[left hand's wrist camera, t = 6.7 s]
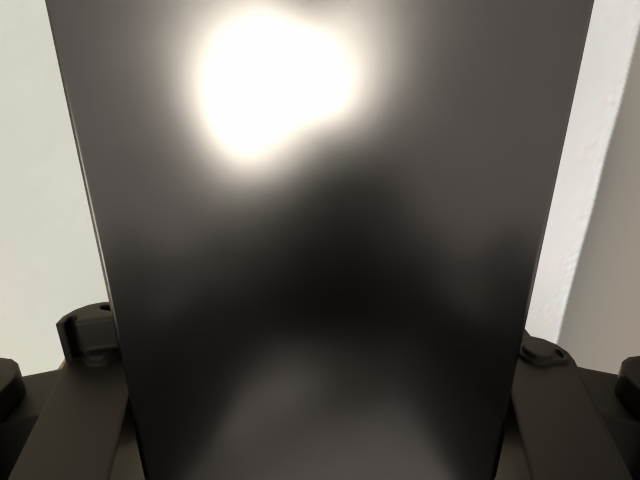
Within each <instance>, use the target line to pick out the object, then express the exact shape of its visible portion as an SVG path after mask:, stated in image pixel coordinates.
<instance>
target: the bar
mask: <svg viewBox="0 0 640 480" xmlns="http://www.w3.org/2000/svg"><path fill="white" fill-rule="evenodd" d="M45 2H46V7H47V12H48V16H49V21H50V26H51V30H52V35H53V40H54V45H55V49H56V54H57V59H58V63H59V68H60V73H61V77H62V82H63V87H64V92H65V96H66V101H67V106H68V110H69V115H70V120H71V125H72V129H73V134H74V139H75V143H76V148H77V153H78V157H79V162H80V167H81V172H82V176H83V181H84V186H85V190H86V195H87V200H88V204H89V209H90V214H91V219H92V223H93V228H94V233H95V237H96V242H97V247H98V252H99V256H100V261H101V266H102V270H103V275H104V280H105V284H106V289H107V294H108V299H109V303H110V308H111V313H112V317H113V322H114V327H115V332H116V336H117V341H118V346H119V350H120V355H121V360H122V364H123V369H124V374H125V379H126V383H127V388H128V393H129V397H130V402H131V407H132V412H133V416H134V421H135V426H136V430H137V435H138V440H139V444H140V449H141V454H142V459H143V463H144V468H145V473H146V477H147V480H493V475H494V470H495V465H496V461H497V456H498V451H499V447H500V442H501V437H502V433H503V428H504V423H505V418H506V414H507V409H508V404H509V400H510V395H511V390H512V385H513V381H514V376H515V371H516V367H517V362H518V357H519V352H520V348H521V343H522V338H523V334H524V329H525V324H526V319H527V315H528V310H529V305H530V301H531V296H532V291H533V286H534V282H535V277H536V272H537V268H538V263H539V258H540V253H541V249H542V244H543V239H544V235H545V230H546V225H547V221H548V216H549V211H550V206H551V202H552V197H553V192H554V188H555V183H556V178H557V173H558V169H559V164H560V159H561V155H562V150H563V145H564V140H565V136H566V131H567V126H568V122H569V117H570V112H571V107H572V103H573V98H574V93H575V89H576V84H577V79H578V74H579V70H580V65H581V60H582V56H583V51H584V46H585V41H586V37H587V32H588V27H589V23H590V18H591V13H592V8H593V4H594V0H45Z"/></svg>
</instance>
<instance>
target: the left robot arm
mask: <svg viewBox="0 0 640 480" xmlns="http://www.w3.org/2000/svg"><path fill="white" fill-rule="evenodd" d="M56 326H57V330H58V334H59V337H60V341H61V345H62V348H63V352H64V356H65V359H66V362H65V364H64V366H63V368H62V369H58V370H54V371H49V372H44V373H39V374H34V375H29V376H24V377H22V375H21V372H20V369H19V366H18V364H17V363H16V362H15V361H13V360H12V359H5V358H0V480H147V477H146V473H145V468H144V463H143V459H142V454H141V449H140V444H139V440H138V435H137V430H136V426H135V421H134V416H133V412H132V407H131V402H130V397H129V393H128V388H127V383H126V379H125V374H124V369H123V364H122V360H121V355H120V350H119V346H118V341H117V336H116V332H115V327H114V322H113V317H112V313H111V308H110V303H109V302H101V303H96V304H91V305H87V306H85V307H82V308H79V309H76V310H74V311H72V312H70V313H69V314H67V315H65V316H64V317H62V318H61V319H60V320H59V322H58V323H57V324H56ZM493 480H640V356H636V357H628V358H627V359H626V360H624V361H623V362H622V365H621V367H620V371H619V374H618V375H616V374H610V373H605V372H600V371H595V370H590V369H585V368H581V367H577V365H576V363H575V361H574V359H573V358H572V357H571V356H570V355H569V353H568V352H567V351H565V350H564V349H562V348H561V347H559V346H558V345H556V344H554V343H551V342H549V341H547V340H544V339H541V338H536V337H532V336H530V335H529V334H528V332H527V331H526V330H525V329H524V334H523V338H522V343H521V348H520V352H519V357H518V362H517V367H516V371H515V376H514V381H513V385H512V390H511V395H510V400H509V404H508V409H507V414H506V418H505V423H504V428H503V433H502V437H501V442H500V447H499V451H498V456H497V461H496V465H495V470H494V475H493Z"/></svg>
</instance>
